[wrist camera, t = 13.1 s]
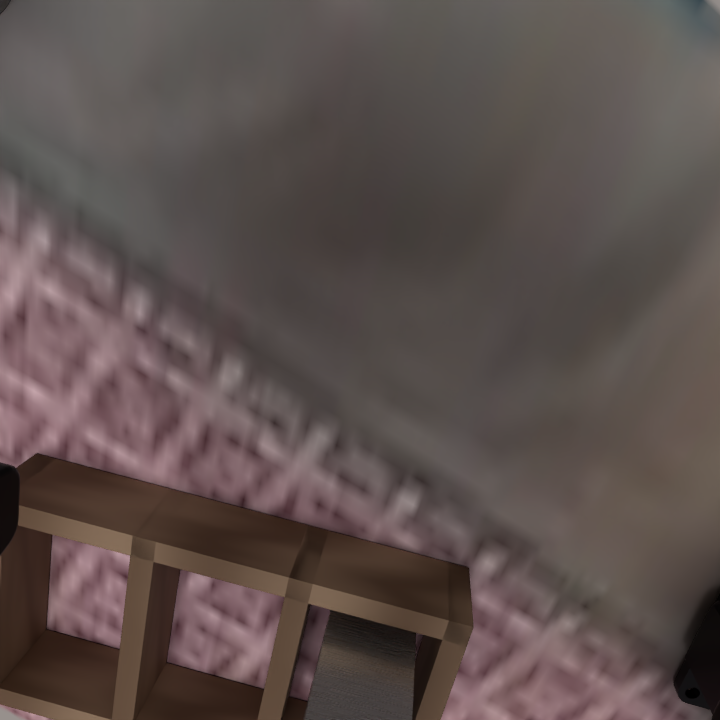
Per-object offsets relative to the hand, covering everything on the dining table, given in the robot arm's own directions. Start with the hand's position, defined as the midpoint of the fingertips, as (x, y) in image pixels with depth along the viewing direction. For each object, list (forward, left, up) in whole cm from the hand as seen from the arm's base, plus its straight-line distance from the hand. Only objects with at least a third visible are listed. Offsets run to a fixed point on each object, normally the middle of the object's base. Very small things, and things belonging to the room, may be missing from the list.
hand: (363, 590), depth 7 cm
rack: (+4, +13, -13) cm, 19 cm away
